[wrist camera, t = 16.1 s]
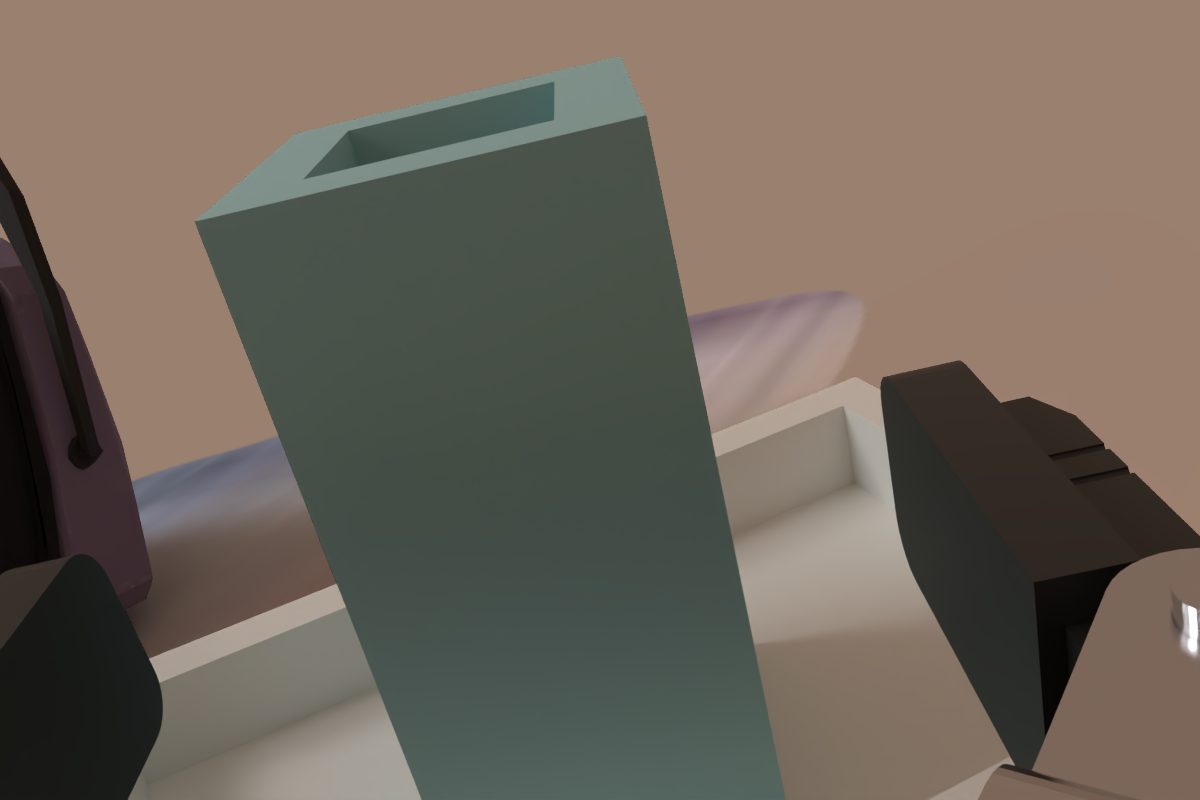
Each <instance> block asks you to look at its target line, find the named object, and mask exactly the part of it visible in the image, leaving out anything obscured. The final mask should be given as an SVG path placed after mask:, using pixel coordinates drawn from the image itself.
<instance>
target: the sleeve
mask: <svg viewBox="0 0 1200 800" xmlns="http://www.w3.org/2000/svg"><path fill="white" fill-rule="evenodd" d="M195 224H196V226H197V229H198V231H199V234H200V236H201V239H202V242H203V244H204V247H205V249H206V252H207V254H208V257H209V259H210V262H211V264H212V267H213V270H214V272H215V275H216V277H217V280H218V282H219V285H220V287H221V290H222V293H223V295H224V297H225V300H226V303H227V305H228V308H229V310H230V313H231V315H232V318H233V321H234V323H235V326H236V328H237V331H238V333H239V336H240V338H241V341H242V343H243V346H244V349H245V351H246V354H247V356H248V359H249V361H250V364H251V366H252V369H253V371H254V374H255V377H256V379H257V381H258V384H259V387H260V389H261V392H262V394H263V397H264V400H265V402H266V405H267V407H268V410H269V412H270V415H271V417H272V420H273V422H274V425H275V428H276V430H277V432H278V435H279V438H280V440H281V443H282V445H283V448H284V451H285V453H286V456H287V458H288V461H289V463H290V466H291V468H292V471H293V473H294V476H295V479H296V481H297V484H298V486H299V489H300V491H301V494H302V496H303V499H304V501H305V504H306V507H307V509H308V512H309V514H310V517H311V519H312V522H313V524H314V527H315V529H316V532H317V535H318V537H319V540H320V542H321V545H322V547H323V550H324V552H325V555H326V558H327V560H328V563H329V565H330V568H331V570H332V573H333V575H334V578H335V580H336V583H337V586H338V588H339V591H340V593H341V596H342V598H343V601H344V603H345V606H346V608H347V611H348V614H349V616H350V619H351V621H352V624H353V626H354V629H355V631H356V634H357V636H358V639H359V642H360V644H361V647H362V649H363V652H364V654H365V657H366V659H367V662H368V665H369V667H370V670H371V672H372V675H373V677H374V680H375V682H376V685H377V687H378V690H379V693H380V695H381V698H382V700H383V703H384V705H385V708H386V710H387V713H388V715H389V718H390V721H391V723H392V726H393V728H394V731H395V733H396V736H397V738H398V741H399V744H400V746H401V749H402V751H403V754H404V756H405V759H406V761H407V764H408V766H409V769H410V772H411V774H412V777H413V779H414V782H415V784H416V787H417V789H418V792H419V794H420V797H421V800H786V799H785V794H784V789H783V784H782V779H781V774H780V770H779V765H778V760H777V755H776V750H775V745H774V740H773V735H772V730H771V725H770V721H769V716H768V711H767V706H766V701H765V696H764V691H763V686H762V681H761V676H760V671H759V667H758V662H757V657H756V652H755V647H754V642H753V637H752V632H751V627H750V622H749V618H748V613H747V608H746V603H745V598H744V593H743V588H742V583H741V578H740V573H739V568H738V564H737V559H736V554H735V549H734V544H733V539H732V534H731V529H730V524H729V519H728V515H727V510H726V505H725V500H724V495H723V490H722V485H721V480H720V475H719V470H718V465H717V461H716V456H715V451H714V446H713V441H712V436H711V431H710V426H709V421H708V416H707V412H706V407H705V402H704V397H703V392H702V387H701V382H700V377H699V372H698V367H697V362H696V358H695V353H694V348H693V343H692V338H691V333H690V328H689V323H688V318H687V313H686V309H685V304H684V299H683V294H682V289H681V284H680V279H679V274H678V269H677V264H676V259H675V255H674V251H673V245H672V240H671V235H670V230H669V226H668V220H667V216H666V211H665V206H664V201H663V196H662V191H661V186H660V181H659V176H658V171H657V166H656V162H655V156H654V152H653V147H652V142H651V137H650V132H649V127H648V122H647V117H646V114H645V112H644V109H643V107H642V105H641V103H640V100H639V98H638V95H637V93H636V91H635V88H634V86H633V84H632V81H631V79H630V77H629V74H628V72H627V70H626V67H625V65H624V63H623V60H622V58H621V56H618V57H614V58H610V59H605V60H601V61H597V62H593V63H589V64H585V65H580V66H576V67H572V68H568V69H564V70H559V71H556V72H551V73H547V74H543V75H539V76H534V77H530V78H526V79H522V80H518V81H514V82H509V83H505V84H501V85H497V86H493V87H488V88H484V89H480V90H476V91H472V92H467V93H463V94H460V95H455V96H451V97H447V98H443V99H438V100H434V101H430V102H426V103H422V104H417V105H413V106H409V107H405V108H401V109H397V110H393V111H388V112H384V113H380V114H376V115H371V116H367V117H363V118H359V119H355V120H351V121H346V122H342V123H338V124H334V125H330V126H326V127H321V128H318V129H314V130H309V131H305V132H300V133H296V134H295V135H294V136H292V137H291V138H290V139H289V140H288V141H287V142H286V143H284V144H283V145H282V146H281V147H280V148H279V149H278V150H276V151H275V152H274V153H273V154H272V155H271V156H269V157H268V158H267V159H266V160H265V161H264V162H263V163H262V164H261V165H259V166H258V167H257V168H256V169H255V170H253V171H252V172H251V173H250V174H249V175H248V176H246V177H245V178H244V179H243V180H242V181H241V182H240V183H239V184H237V185H236V186H235V187H234V188H233V189H232V190H230V191H229V192H228V193H227V194H226V195H225V196H224V197H222V198H221V199H220V200H219V201H218V202H217V203H216V204H214V205H213V206H212V207H211V208H210V209H209V210H207V211H206V212H205V213H204V214H203V215H202V216H201V217H199V218H198V219H197V220H196V221H195Z"/></svg>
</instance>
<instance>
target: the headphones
mask: <svg viewBox="0 0 1200 800" xmlns="http://www.w3.org/2000/svg"><path fill="white" fill-rule="evenodd" d="M0 223H1V225H2V227H3V229H4V231H5V233H6V235H7V237H8V239H9V241H10V243H9V242H7V241H6V240H4V239H2V238H0V575H1V574H2V573H4V572H5V571H7V570H10V569H14V568H18V567H23V566H27V565H32V564H36V563H41V562H45V561H50V560H54V559H59V558H63V557H68V556H73V555H77V554H86V555H89V556H91V557H92V558H94V559H95V560H96V561H97V562H98V563H99V564H100V565H101V566H102V568H103V569H104V570H105V572H106V574H107V576H108V578H109V580H110V582H111V584H112V586H113V588H114V590H115V592H116V594H117V596H118V598H119V600H120V602H121V604H122V606H123V608H124V610H125V609H127V608H129V607H131V606H133V605H135V604H137V603H139V602H141V601H143V600H145V599H146V597H147V594H148V591H149V588H150V585H151V582H152V579H153V577H152V573H151V568H150V563H149V559H148V554H147V549H146V545H145V540H144V535H143V531H142V526H141V521H140V517H139V512H138V508H137V503H136V499H135V495H134V490H133V486H132V482H131V478H130V474H129V470H128V465H127V462H126V458H125V453H124V449H123V445H122V441H121V439H120V436H119V433H118V431H117V428H116V425H115V422H114V420H113V417H112V414H111V411H110V409H109V406H108V403H107V400H106V398H105V395H104V392H103V390H102V387H101V384H100V381H99V379H98V376H97V373H96V371H95V368H94V365H93V363H92V360H91V357H90V354H89V352H88V349H87V346H86V344H85V341H84V339H83V336H82V334H81V331H80V329H79V326H78V324H77V321H76V319H75V316H74V314H73V311H72V309H71V306H70V304H69V302H68V299H67V296H66V294H65V292H64V290H63V289H62V287H61V286H60V285H59V283H58V282H57V281H56V280H55V278H54V277H53V275H52V272H51V269H50V266H49V264H48V261H47V258H46V255H45V253H44V250H43V247H42V245H41V242H40V239H39V237H38V234H37V231H36V228H35V226H34V223H33V220H32V217H31V215H30V212H29V210H28V207H27V205H26V201H25V198H24V196H23V194H22V193H21V191H20V189H19V188H18V186H17V185H16V183H15V181H14V180H13V178H12V176H11V175H10V173H9V171H8V170H7V168H6V166H5V165H4V163H3V161H2V160H1V158H0Z"/></svg>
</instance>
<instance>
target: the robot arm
mask: <svg viewBox="0 0 1200 800" xmlns="http://www.w3.org/2000/svg"><path fill="white" fill-rule="evenodd" d="M881 405H882V413H883V420H884V428H885V435H886V443H887V451H888V458H889V466H890V473H891V481H892V488H893V496H894V503H895V511H896V518H897V523H898V529H899V533H900V537H901V541H902V545H903V549H904V552H905V555H906V558H907V561H908V564H909V567H910V569H911V572H912V574H913V576H914V578H915V580H916V582H917V584H918V586H919V588H920V590H921V592H922V594H923V595H924V597H925V599H926V601H927V603H928V605H929V607H930V608H931V610H932V612H933V614H934V616H935V618H936V620H937V621H938V623H939V625H940V627H941V629H942V631H943V633H944V634H945V636H946V638H947V640H948V642H949V644H950V646H951V647H952V649H953V651H954V653H955V655H956V657H957V659H958V660H959V662H960V664H961V666H962V668H963V670H964V672H965V674H966V675H967V677H968V679H969V681H970V683H971V685H972V687H973V688H974V690H975V692H976V694H977V696H978V698H979V700H980V701H981V703H982V705H983V707H984V709H985V711H986V713H987V714H988V716H989V718H990V720H991V722H992V724H993V726H994V727H995V729H996V731H997V733H998V735H999V737H1000V739H1001V740H1002V742H1003V744H1004V746H1005V748H1006V750H1007V752H1008V753H1009V755H1010V757H1011V759H1012V761H1013V763H1014V765H1015V766H1014V765H1010V764H1002V765H1001V766H999V767H998V768H997V769H996V770H995V771H994V772H993V773H992V774H991V776H990V777H989V779H988V780H987V782H986V784H985V786H984V788H983V790H982V792H981V794H980V796H979V798H978V800H1200V536H1199V535H1198V534H1197V533H1196V532H1195V531H1194V530H1193V529H1192V528H1191V527H1190V526H1189V525H1188V524H1187V523H1186V522H1185V521H1184V520H1183V519H1181V518H1180V517H1179V516H1178V515H1177V514H1176V513H1175V512H1174V511H1173V510H1172V509H1171V508H1170V507H1169V506H1168V505H1167V504H1166V503H1165V502H1164V501H1163V500H1162V499H1161V498H1160V497H1159V496H1158V495H1157V494H1156V493H1155V492H1154V491H1153V490H1151V489H1150V487H1148V486H1147V485H1146V484H1145V483H1144V482H1143V481H1142V480H1141V479H1140V478H1139V477H1138V476H1137V475H1136V474H1135V473H1131V474H1130V472H1129V470H1128V466H1127V465H1126V464H1125V463H1124V462H1123V461H1122V460H1121V459H1120V458H1119V457H1118V456H1116V455H1115V453H1113V452H1112V451H1111V450H1110V449H1107V450H1106V449H1105V447H1104V443H1103V442H1102V441H1101V440H1100V439H1099V438H1098V437H1097V436H1096V435H1095V434H1094V433H1093V432H1092V431H1091V430H1090V429H1089V428H1088V427H1087V426H1086V425H1084V423H1083V422H1081V420H1079V419H1078V418H1077V417H1076V416H1075V415H1073V414H1071V413H1068V412H1066V411H1063V410H1060V409H1058V408H1055V407H1053V406H1051V405H1048V404H1046V403H1043V402H1041V401H1038V400H1036V399H1033V398H1031V397H1025V398H1021V399H1016V400H1011V401H1007V402H1003V403H1000V402H999V401H998V400H997V399H996V398H995V397H994V395H993V394H992V393H991V392H990V391H989V390H988V389H987V388H986V387H985V385H984V384H983V383H982V382H981V381H980V380H979V379H978V378H977V377H976V376H975V374H974V373H973V372H972V371H971V370H970V369H969V368H968V367H967V365H966V364H964V363H963V362H962V361H954V362H950V363H945V364H941V365H936V366H932V367H928V368H923V369H918V370H914V371H909V372H905V373H900V374H896V375H891V376H887V377H883V379H882V381H881ZM162 718H163V700H162V692H161V687H160V683H159V680H158V677H157V674H156V672H155V670H154V668H153V666H152V664H151V662H150V660H149V658H148V656H147V654H146V652H145V650H144V648H143V646H142V644H141V642H140V640H139V638H138V636H137V634H136V632H135V630H134V628H133V626H132V624H131V622H130V620H129V618H128V616H127V614H126V612H125V610H124V608H123V606H122V604H121V602H120V600H119V598H118V596H117V594H116V592H115V590H114V588H113V586H112V584H111V582H110V580H109V578H108V576H107V574H106V572H105V570H104V569H103V568H102V566H101V565H100V564H99V563H98V562H97V561H96V560H95V559H94V558H92V557H91V556H89V555H86V554H77V555H73V556H68V557H63V558H59V559H54V560H50V561H45V562H41V563H36V564H32V565H27V566H23V567H18V568H14V569H10V570H7V571H5V572H4V573H2V574H1V575H0V800H128V798H129V796H130V794H131V792H132V790H133V788H134V786H135V784H136V782H137V780H138V777H139V775H140V773H141V771H142V769H143V767H144V765H145V763H146V761H147V759H148V757H149V755H150V753H151V750H152V748H153V746H154V744H155V742H156V740H157V738H158V735H159V733H160V729H161V725H162Z"/></svg>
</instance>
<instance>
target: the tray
mask: <svg viewBox="0 0 1200 800" xmlns="http://www.w3.org/2000/svg"><path fill="white" fill-rule="evenodd" d="M711 436H712V441H713V446H714V451H715V456H716V461H717V465H718V470H719V475H720V480H721V485H722V490H723V495H724V500H725V505H726V510H727V515H728V519H729V524H730V529H731V534H732V539H733V544H734V549H735V554H736V559H737V564H738V568H739V573H740V578H741V583H742V588H743V593H744V598H745V603H746V608H747V613H748V618H749V622H750V627H751V632H752V637H753V642H754V647H755V652H756V657H757V662H758V667H759V671H760V676H761V681H762V686H763V691H764V696H765V701H766V706H767V711H768V716H769V721H770V725H771V730H772V735H773V740H774V745H775V750H776V755H777V760H778V765H779V770H780V774H781V779H782V784H783V789H784V794H785V799H786V800H978V798H979V796H980V794H981V792H982V790H983V788H984V786H985V784H986V782H987V780H988V779H989V777H990V776H991V774H992V773H993V772H994V771H995V770H996V769H997V768H998V767H999V766H1001V765H1002V764H1010V765H1014V763H1013V761H1012V759H1011V757H1010V755H1009V753H1008V752H1007V750H1006V748H1005V746H1004V744H1003V742H1002V740H1001V739H1000V737H999V735H998V733H997V731H996V729H995V727H994V726H993V724H992V722H991V720H990V718H989V716H988V714H987V713H986V711H985V709H984V707H983V705H982V703H981V701H980V700H979V698H978V696H977V694H976V692H975V690H974V688H973V687H972V685H971V683H970V681H969V679H968V677H967V675H966V674H965V672H964V670H963V668H962V666H961V664H960V662H959V660H958V659H957V657H956V655H955V653H954V651H953V649H952V647H951V646H950V644H949V642H948V640H947V638H946V636H945V634H944V633H943V631H942V629H941V627H940V625H939V623H938V621H937V620H936V618H935V616H934V614H933V612H932V610H931V608H930V607H929V605H928V603H927V601H926V599H925V597H924V595H923V594H922V592H921V590H920V588H919V586H918V584H917V582H916V580H915V578H914V576H913V574H912V572H911V569H910V567H909V564H908V561H907V558H906V555H905V552H904V549H903V545H902V541H901V537H900V533H899V529H898V523H897V518H896V511H895V503H894V496H893V488H892V481H891V473H890V466H889V458H888V451H887V443H886V435H885V428H884V420H883V413H882V405H881V390H880V389H877V388H876V387H874V386H872V385H870V384H868V383H866V382H864V381H862V380H861V379H858V378H857V377H854V378H851V379H849V380H847V381H844V382H841V383H839V384H836V385H834V386H831V387H829V388H826V389H824V390H821V391H819V392H816V393H814V394H811V395H809V396H806V397H804V398H801V399H799V400H796V401H794V402H791V403H789V404H786V405H784V406H781V407H779V408H776V409H774V410H771V411H769V412H766V413H764V414H761V415H759V416H756V417H754V418H751V419H748V420H746V421H743V422H741V423H738V424H736V425H733V426H731V427H728V428H726V429H723V430H721V431H718V432H716V433H713V434H711ZM149 660H150V662H151V664H152V666H153V668H154V670H155V672H156V674H157V677H158V680H159V683H160V687H161V692H162V700H163V718H162V725H161V729H160V733H159V735H158V738H157V740H156V742H155V744H154V746H153V748H152V750H151V753H150V755H149V757H148V759H147V761H146V763H145V765H144V767H143V769H142V771H141V773H140V775H139V777H138V780H137V782H136V784H135V786H134V788H133V790H132V792H131V794H130V796H129V798H128V800H421V797H420V794H419V792H418V789H417V787H416V784H415V782H414V779H413V777H412V774H411V772H410V769H409V766H408V764H407V761H406V759H405V756H404V754H403V751H402V749H401V746H400V744H399V741H398V738H397V736H396V733H395V731H394V728H393V726H392V723H391V721H390V718H389V715H388V713H387V710H386V708H385V705H384V703H383V700H382V698H381V695H380V693H379V690H378V687H377V685H376V682H375V680H374V677H373V675H372V672H371V670H370V667H369V665H368V662H367V659H366V657H365V654H364V652H363V649H362V647H361V644H360V642H359V639H358V636H357V634H356V631H355V629H354V626H353V624H352V621H351V619H350V616H349V614H348V611H347V608H346V606H345V603H344V601H343V598H342V596H341V593H340V591H339V588H338V586H337V584H335V585H332V586H330V587H327V588H325V589H322V590H320V591H317V592H315V593H312V594H310V595H307V596H305V597H302V598H300V599H297V600H295V601H292V602H290V603H287V604H285V605H282V606H279V607H277V608H274V609H272V610H269V611H267V612H264V613H262V614H259V615H257V616H254V617H252V618H249V619H247V620H244V621H242V622H239V623H237V624H234V625H232V626H229V627H227V628H224V629H222V630H219V631H217V632H214V633H212V634H209V635H207V636H204V637H202V638H199V639H197V640H194V641H192V642H189V643H187V644H184V645H182V646H179V647H177V648H174V649H172V650H169V651H167V652H164V653H162V654H159V655H157V656H154V657H152V658H149ZM1014 766H1015V765H1014Z"/></svg>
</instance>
